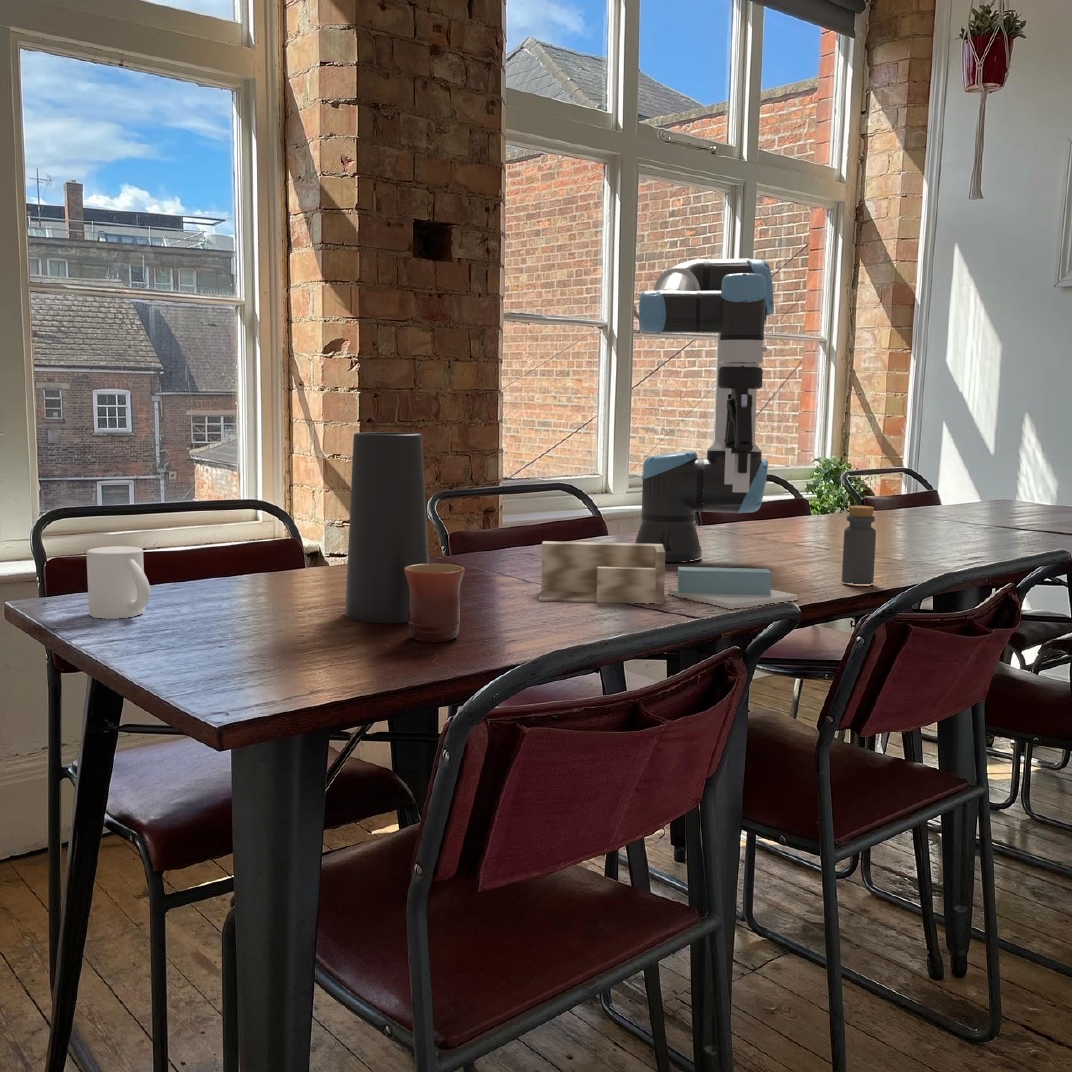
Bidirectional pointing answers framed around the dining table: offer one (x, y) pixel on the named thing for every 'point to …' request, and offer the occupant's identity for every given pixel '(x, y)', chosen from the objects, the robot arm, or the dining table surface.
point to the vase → (385, 525)
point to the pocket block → (603, 572)
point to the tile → (735, 598)
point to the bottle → (859, 546)
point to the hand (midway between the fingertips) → (736, 488)
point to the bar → (724, 580)
